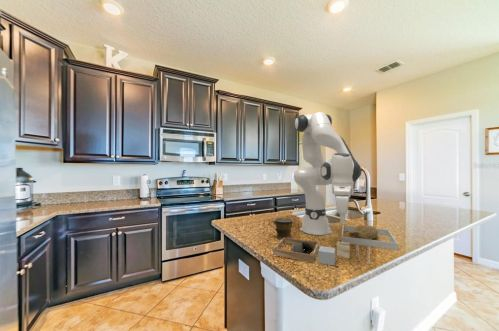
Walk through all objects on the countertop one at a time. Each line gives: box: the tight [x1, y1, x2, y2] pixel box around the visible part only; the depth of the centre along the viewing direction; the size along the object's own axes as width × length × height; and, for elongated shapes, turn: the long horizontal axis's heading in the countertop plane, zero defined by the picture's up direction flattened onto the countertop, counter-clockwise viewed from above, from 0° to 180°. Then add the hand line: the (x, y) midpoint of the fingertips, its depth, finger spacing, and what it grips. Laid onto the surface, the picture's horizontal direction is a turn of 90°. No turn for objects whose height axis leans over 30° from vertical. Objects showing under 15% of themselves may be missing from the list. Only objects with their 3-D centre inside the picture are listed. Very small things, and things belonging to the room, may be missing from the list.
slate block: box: [317, 245, 336, 267], centre depth 87 cm, size 6×6×5 cm
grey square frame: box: [341, 224, 399, 250], centre depth 116 cm, size 24×24×3 cm
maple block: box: [336, 241, 351, 259], centre depth 94 cm, size 5×5×5 cm
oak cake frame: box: [272, 237, 320, 264], centre depth 97 cm, size 17×17×3 cm
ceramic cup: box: [268, 217, 294, 240], centre depth 118 cm, size 13×10×10 cm
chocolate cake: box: [291, 241, 315, 254], centre depth 95 cm, size 10×7×12 cm
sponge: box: [348, 224, 379, 240], centre depth 116 cm, size 13×8×20 cm
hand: (342, 220), depth 94 cm, fingers open, 8 cm apart
